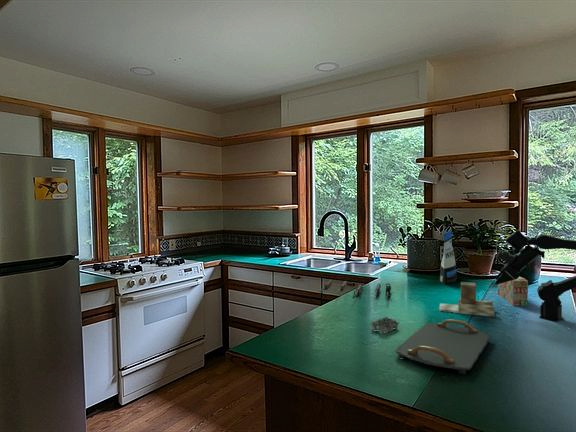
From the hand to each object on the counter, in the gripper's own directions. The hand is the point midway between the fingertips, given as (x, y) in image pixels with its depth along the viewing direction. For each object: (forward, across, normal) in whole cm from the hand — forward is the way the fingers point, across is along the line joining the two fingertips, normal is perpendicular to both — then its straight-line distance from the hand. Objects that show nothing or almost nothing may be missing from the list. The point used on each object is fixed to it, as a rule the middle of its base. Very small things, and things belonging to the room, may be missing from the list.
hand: (495, 281), depth 165 cm
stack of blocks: (+6, -25, +14) cm, 30 cm away
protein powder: (+28, -59, -10) cm, 66 cm away
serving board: (+20, +53, -1) cm, 57 cm away
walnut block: (+16, +3, +1) cm, 17 cm away
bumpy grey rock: (+36, +43, -18) cm, 59 cm away
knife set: (+55, 0, -37) cm, 66 cm away
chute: (+17, +3, +2) cm, 18 cm away
